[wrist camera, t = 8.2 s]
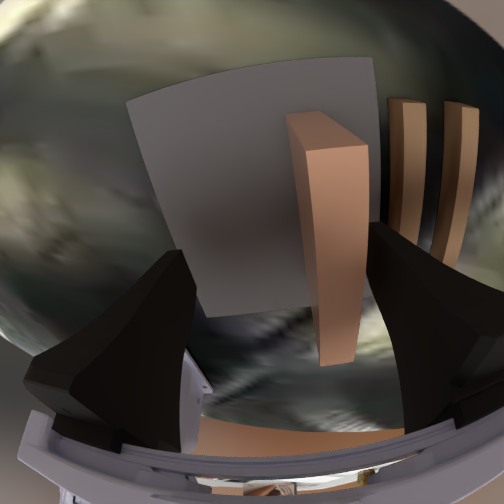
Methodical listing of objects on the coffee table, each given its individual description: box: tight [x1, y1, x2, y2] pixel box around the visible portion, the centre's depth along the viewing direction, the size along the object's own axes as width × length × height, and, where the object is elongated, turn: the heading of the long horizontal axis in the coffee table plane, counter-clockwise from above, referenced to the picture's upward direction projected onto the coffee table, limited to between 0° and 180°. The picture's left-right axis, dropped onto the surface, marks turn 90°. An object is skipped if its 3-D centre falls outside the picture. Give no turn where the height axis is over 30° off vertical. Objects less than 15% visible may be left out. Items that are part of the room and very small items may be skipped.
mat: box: [126, 57, 381, 318], centre depth 14 cm, size 14×11×1 cm
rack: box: [387, 98, 479, 269], centre depth 12 cm, size 10×5×2 cm, turn 11°
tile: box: [285, 111, 369, 367], centre depth 11 cm, size 9×2×6 cm, turn 11°
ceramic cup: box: [356, 469, 375, 487], centre depth 73 cm, size 13×10×10 cm
